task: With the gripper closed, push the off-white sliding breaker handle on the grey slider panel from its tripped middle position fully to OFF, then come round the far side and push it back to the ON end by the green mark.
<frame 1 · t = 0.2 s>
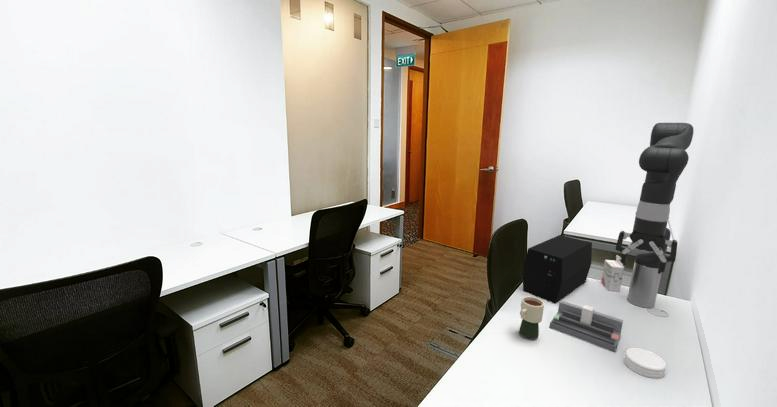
hand: (641, 268, 101), 29 cm above the table, fingers open, 8 cm apart
character mug: (528, 335, 116), on the table
white round disc: (643, 367, 102), on the table
uninterruptible power supply: (554, 287, 153), on the table
ink cartridge box: (609, 287, 154), on the table
grey slider panel: (584, 331, 119), on the table
breaker handle: (586, 316, 118), point 6 cm above the table, slide at 6.0 cm
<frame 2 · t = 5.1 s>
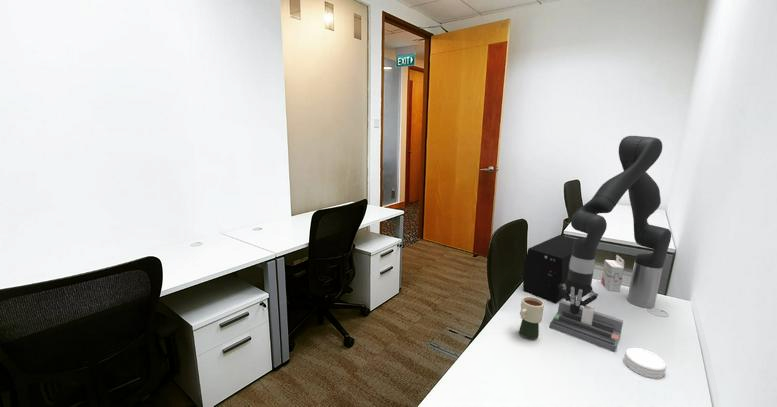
hand: (573, 313, 121), 5 cm above the table, fingers closed
breaker handle: (587, 317, 118), point 6 cm above the table, slide at 6.2 cm, touching gripper
everything else where it was.
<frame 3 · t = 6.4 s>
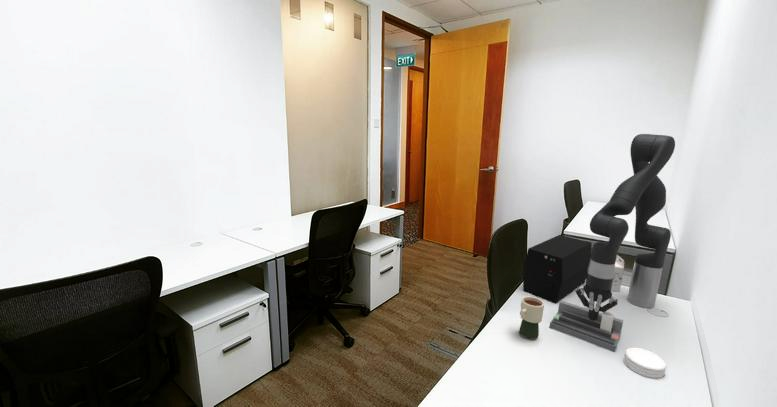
hand: (592, 319, 117), 5 cm above the table, fingers closed
breaker handle: (606, 323, 114), point 6 cm above the table, slide at 12.0 cm, touching gripper
everything else where it was.
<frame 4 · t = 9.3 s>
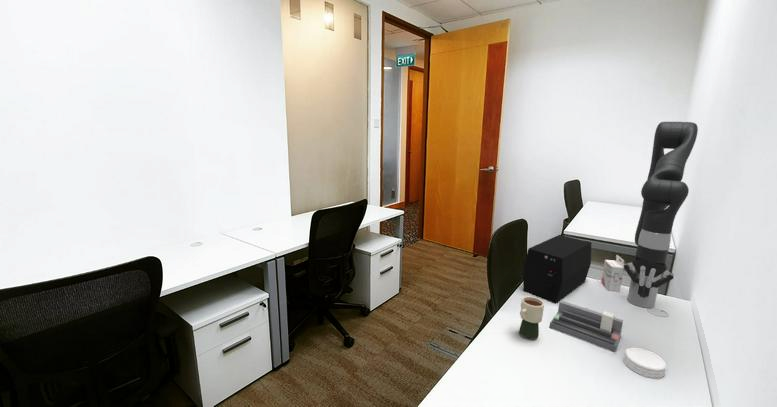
hand: (642, 296, 106), 19 cm above the table, fingers closed
breaker handle: (606, 323, 114), point 6 cm above the table, slide at 12.0 cm
everything else where it was.
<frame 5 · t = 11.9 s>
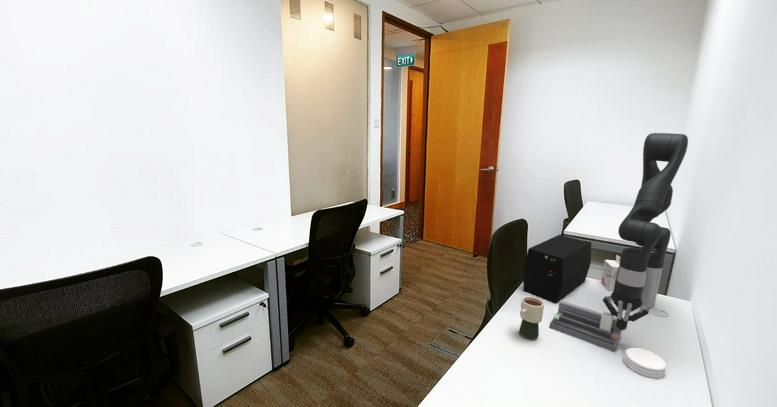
hand: (620, 328, 111), 6 cm above the table, fingers closed
breaker handle: (606, 323, 114), point 6 cm above the table, slide at 11.8 cm, touching gripper
everything else where it was.
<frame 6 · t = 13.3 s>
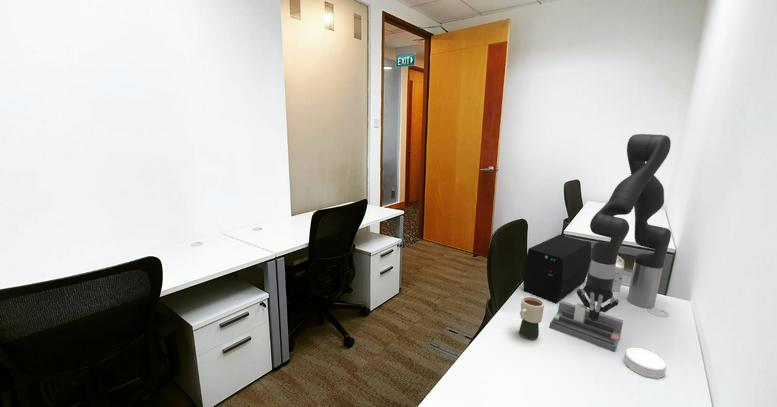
hand: (593, 319, 117), 6 cm above the table, fingers closed
breaker handle: (579, 314, 119), point 6 cm above the table, slide at 3.9 cm, touching gripper
everything else where it was.
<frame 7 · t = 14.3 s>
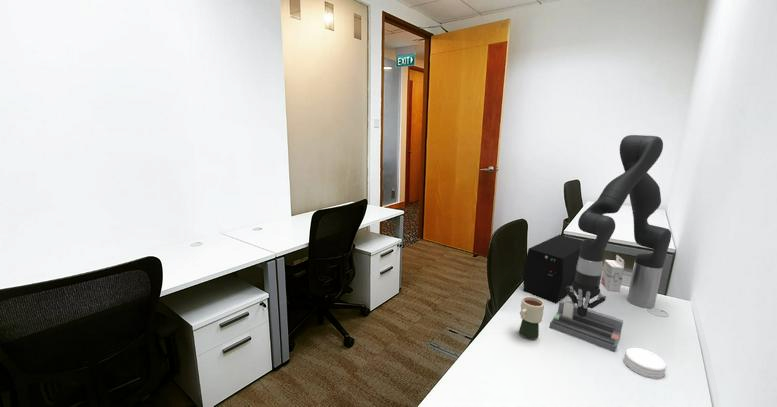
hand: (581, 315, 119), 6 cm above the table, fingers closed
breaker handle: (568, 310, 121), point 6 cm above the table, slide at 0.2 cm, touching gripper
everything else where it was.
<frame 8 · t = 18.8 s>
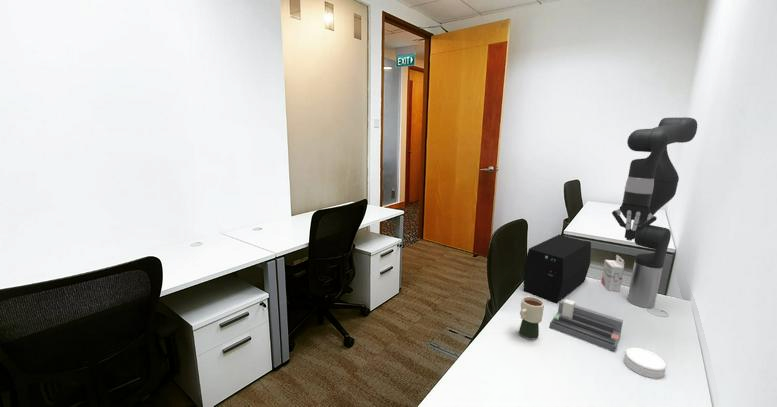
hand: (629, 239, 116), 33 cm above the table, fingers closed
breaker handle: (568, 310, 122), point 6 cm above the table, slide at 0.0 cm
everything else where it was.
at the end: breaker handle slide at 0.0 cm; the gripper is holding nothing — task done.
